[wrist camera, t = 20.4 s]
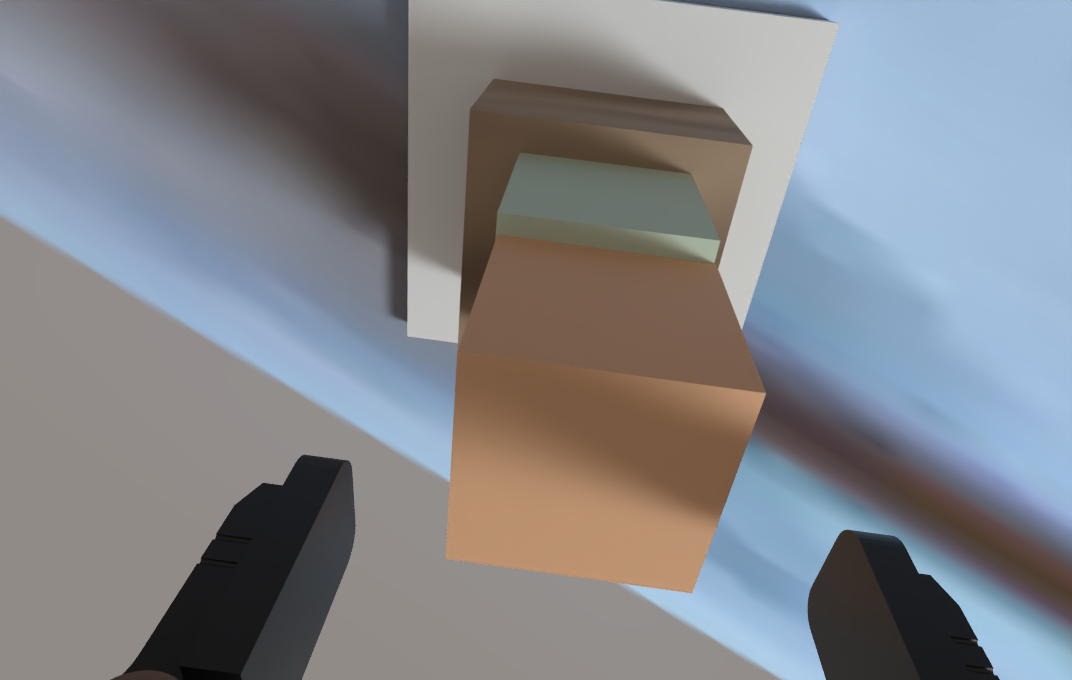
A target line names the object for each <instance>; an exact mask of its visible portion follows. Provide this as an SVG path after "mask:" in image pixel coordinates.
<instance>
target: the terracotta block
mask: <svg viewBox="0 0 1072 680" xmlns="http://www.w3.org/2000/svg"><path fill="white" fill-rule="evenodd" d="M765 395H766V392H765V389H764V387H763V384H762V382H761V379H760V376H759V374H758V371H757V369H756V366H755V363H754V361H753V358H752V356H751V353H750V350H749V348H748V345H747V343H746V340H745V338H744V335H743V332H742V330H741V327H740V325H739V322H738V319H737V317H736V314H735V312H734V309H733V306H732V304H731V301H730V299H729V296H728V293H727V291H726V288H725V286H724V283H723V280H722V278H721V275H720V273H719V270H718V268H717V265H716V264H713V263H706V262H698V261H691V260H683V259H676V258H669V257H661V256H654V255H647V254H639V253H632V252H624V251H617V250H610V249H602V248H595V247H587V246H580V245H573V244H565V243H558V242H551V241H543V240H536V239H528V238H521V237H514V236H506V235H499V234H498V235H497V237H496V240H495V243H494V246H493V249H492V252H491V255H490V258H489V261H488V264H487V267H486V270H485V272H484V275H483V278H482V281H481V284H480V287H479V290H478V293H477V296H476V299H475V302H474V304H473V307H472V310H471V313H470V316H469V319H468V322H467V325H466V328H465V331H464V334H463V337H462V339H461V342H460V345H459V348H458V351H457V369H456V386H455V404H454V422H453V439H452V457H451V475H450V492H449V493H450V494H449V511H448V529H447V545H446V559H452V560H459V561H466V562H474V563H481V564H488V565H495V566H502V567H510V568H516V569H524V570H531V571H538V572H545V573H552V574H559V575H566V576H573V577H581V578H587V579H596V580H602V581H609V582H616V583H623V584H630V585H637V586H645V587H652V588H659V589H666V590H673V591H680V592H687V593H692V592H693V589H694V586H695V584H696V581H697V578H698V576H699V573H700V570H701V568H702V565H703V562H704V559H705V557H706V554H707V551H708V549H709V546H710V543H711V541H712V538H713V535H714V533H715V530H716V527H717V524H718V522H719V519H720V516H721V514H722V511H723V508H724V506H725V503H726V500H727V497H728V495H729V492H730V489H731V487H732V484H733V481H734V479H735V476H736V473H737V470H738V468H739V465H740V462H741V460H742V457H743V454H744V452H745V449H746V446H747V443H748V441H749V438H750V435H751V433H752V430H753V427H754V425H755V422H756V419H757V417H758V414H759V411H760V408H761V406H762V403H763V400H764V398H765Z"/></svg>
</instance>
